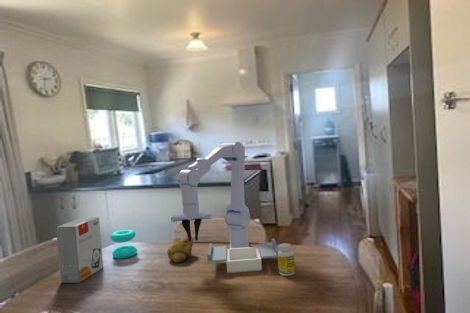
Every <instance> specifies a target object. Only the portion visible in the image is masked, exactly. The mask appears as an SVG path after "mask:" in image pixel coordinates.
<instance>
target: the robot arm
mask: <svg viewBox="0 0 470 313" xmlns="http://www.w3.org/2000/svg"><path fill="white" fill-rule="evenodd" d="M245 150H246V148H245V146H244V144H242V142H240V141H235V142H220V143H219V144H217V145H216V146H215V148H214V149H213V150H212V151H211V152H210V153H209V154H207V156H205V158H204V157H203V158H202V157H201V158H199V157H198V158H196V161H195V162H193V163H192V164H191V165H189V166H187V168H186V169H181V170H180V171H179V173H178V174H177V177H176V182H177V184H178V185H179V189H180V190H181V192H180V193H181V201H182V202H181V203H182V214H178V215H177V214H176V215H171V216H170V220H171V221H170V222H171V223H175V222H176V223H177V222H181V225H182V227H183V228H184V231H185V232H186V236H188V238H189V241H191V237H192V233H191V221H193V225H194V238H195V239H194V240H195V241H198V240H199V239H198V238H199V231H200V228H201V224H202V221H203V220H213V212H200V204H199V194H198V185H199V184H200V181H201V179H202V178H203V176H205V175H206V174H207V173H208V172H209V171H210V170H211V167H212V165H214V164H215V163H216V162H218V161H219V160H221V159H222V160H225V162H227V163H229V165H230V166H231V171H230V172H231V174H230V177H231V178H230V203H229V205H227V206H226V208H225V214H224V222H225V224H226V225H227V227H228V228H229V242H230V243H229V249H230V248H243V247H250V244H249V240H248V237H249V236H248V227H249V225H250V223H251V215H250V208H249V207H248V206H247V205H246V204H245V202H244V201H245V198H244V197H245V163H246V162H245V158H246V157H245V156H246V154H245Z"/></svg>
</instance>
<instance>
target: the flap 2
mask: <svg viewBox="0 0 470 313" xmlns="http://www.w3.org/2000/svg"><path fill="white" fill-rule="evenodd" d="M257 244H258V245H257V246H258V248H259V252H260V256H261V259H273V258H275V259H276V258H278V251H280V250H279V245H277V242H276V240H275V238H271V242H260V243H258V242H257Z"/></svg>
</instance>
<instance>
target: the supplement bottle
mask: <svg viewBox="0 0 470 313" xmlns="http://www.w3.org/2000/svg"><path fill="white" fill-rule="evenodd" d="M278 249H279V251H278V257H277V263H278V264H277V265H278V273H279V275H281V276H284V277H285V276H286V277H288V276H292V275H294V274H295V271H296V270H295V269H296V268H295V256H294V255H295V253H294V251H293V250H292V245H291V243H285V242H284V243H279V245H278Z"/></svg>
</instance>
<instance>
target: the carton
mask: <svg viewBox="0 0 470 313" xmlns="http://www.w3.org/2000/svg"><path fill="white" fill-rule="evenodd" d="M225 263H226V273H227V274H231V273H232V274H233V273H244V272H245V273H246V272H256V271H257V272H258V271H263V265H262V264H263V263H262V258H261V254H260V250H259V246H258V245H257V246H249V247H243V248H230V247H229V248H226V261H225Z"/></svg>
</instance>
